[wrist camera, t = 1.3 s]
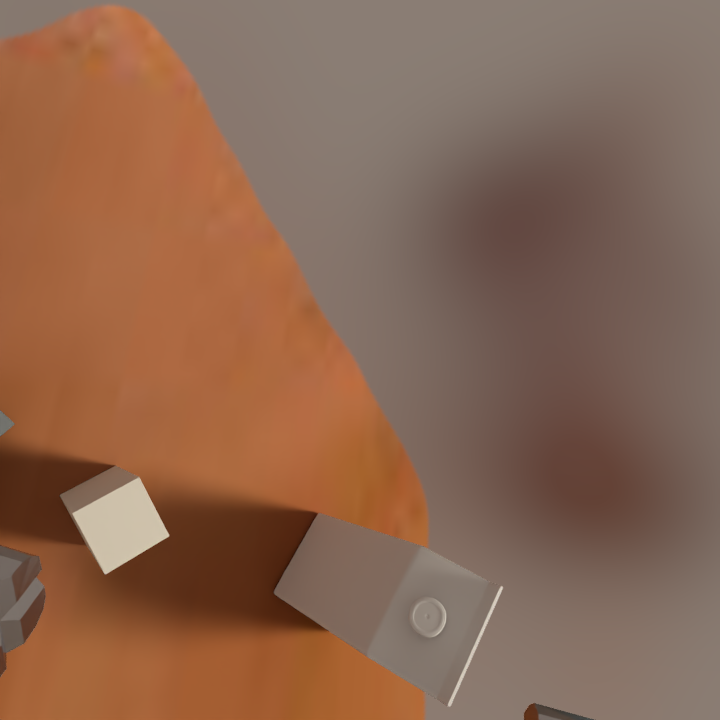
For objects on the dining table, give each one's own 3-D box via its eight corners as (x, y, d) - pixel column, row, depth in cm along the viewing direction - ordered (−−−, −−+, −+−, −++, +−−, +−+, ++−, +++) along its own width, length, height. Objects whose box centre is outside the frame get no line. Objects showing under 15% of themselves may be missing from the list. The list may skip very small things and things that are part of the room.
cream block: (86, 545, 45) (105, 574, 37) (59, 494, 44) (72, 513, 36) (141, 514, 47) (169, 536, 39) (115, 465, 46) (139, 477, 38)
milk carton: (380, 553, 56) (540, 613, 39) (339, 631, 54) (491, 731, 37) (317, 511, 53) (460, 557, 37) (271, 592, 51) (402, 680, 34)
